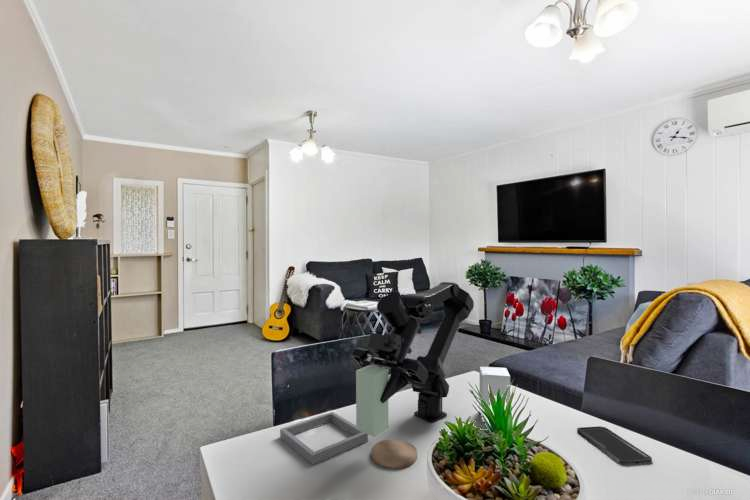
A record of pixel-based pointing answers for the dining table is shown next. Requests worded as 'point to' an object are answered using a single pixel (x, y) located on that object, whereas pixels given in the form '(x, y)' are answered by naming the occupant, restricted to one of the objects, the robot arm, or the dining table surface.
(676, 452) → the dining table surface
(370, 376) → the green block
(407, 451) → the coaster
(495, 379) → the supplement box
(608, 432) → the phone
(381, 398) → the robot arm
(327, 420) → the tray
